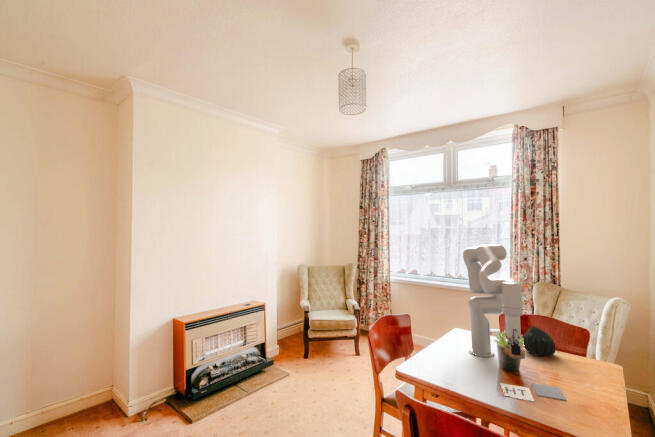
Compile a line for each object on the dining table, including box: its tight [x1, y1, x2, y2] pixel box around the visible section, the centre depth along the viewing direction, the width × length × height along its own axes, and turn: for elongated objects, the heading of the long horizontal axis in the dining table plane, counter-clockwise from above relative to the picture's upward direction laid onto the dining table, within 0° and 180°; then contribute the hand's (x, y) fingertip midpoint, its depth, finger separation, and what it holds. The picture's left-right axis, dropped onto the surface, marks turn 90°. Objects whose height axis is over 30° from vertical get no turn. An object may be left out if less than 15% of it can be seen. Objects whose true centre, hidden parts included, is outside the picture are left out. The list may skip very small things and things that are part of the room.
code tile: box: [500, 382, 535, 402], centre depth 129 cm, size 11×11×1 cm
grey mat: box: [531, 383, 568, 402], centre depth 128 cm, size 10×10×1 cm
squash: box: [522, 325, 556, 357], centre depth 167 cm, size 14×15×15 cm
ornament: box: [503, 337, 526, 360], centre depth 129 cm, size 8×6×10 cm
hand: (514, 350), depth 129 cm, fingers closed on ornament, 8 cm apart
